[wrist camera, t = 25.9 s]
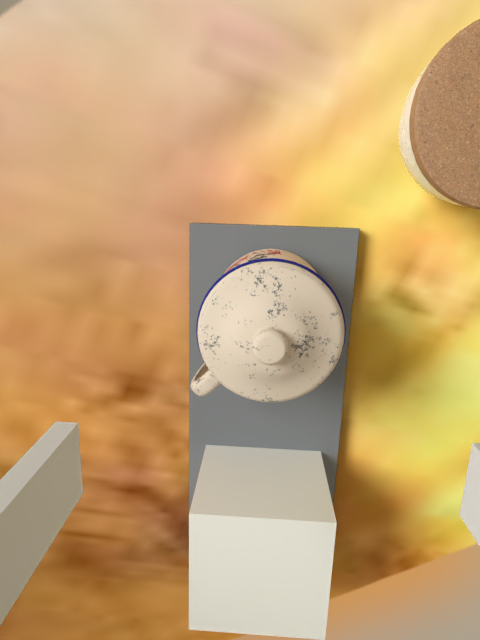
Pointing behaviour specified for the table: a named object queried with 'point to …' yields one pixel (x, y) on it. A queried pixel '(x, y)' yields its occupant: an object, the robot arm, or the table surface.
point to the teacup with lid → (268, 329)
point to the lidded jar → (446, 122)
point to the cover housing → (261, 543)
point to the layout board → (254, 416)
